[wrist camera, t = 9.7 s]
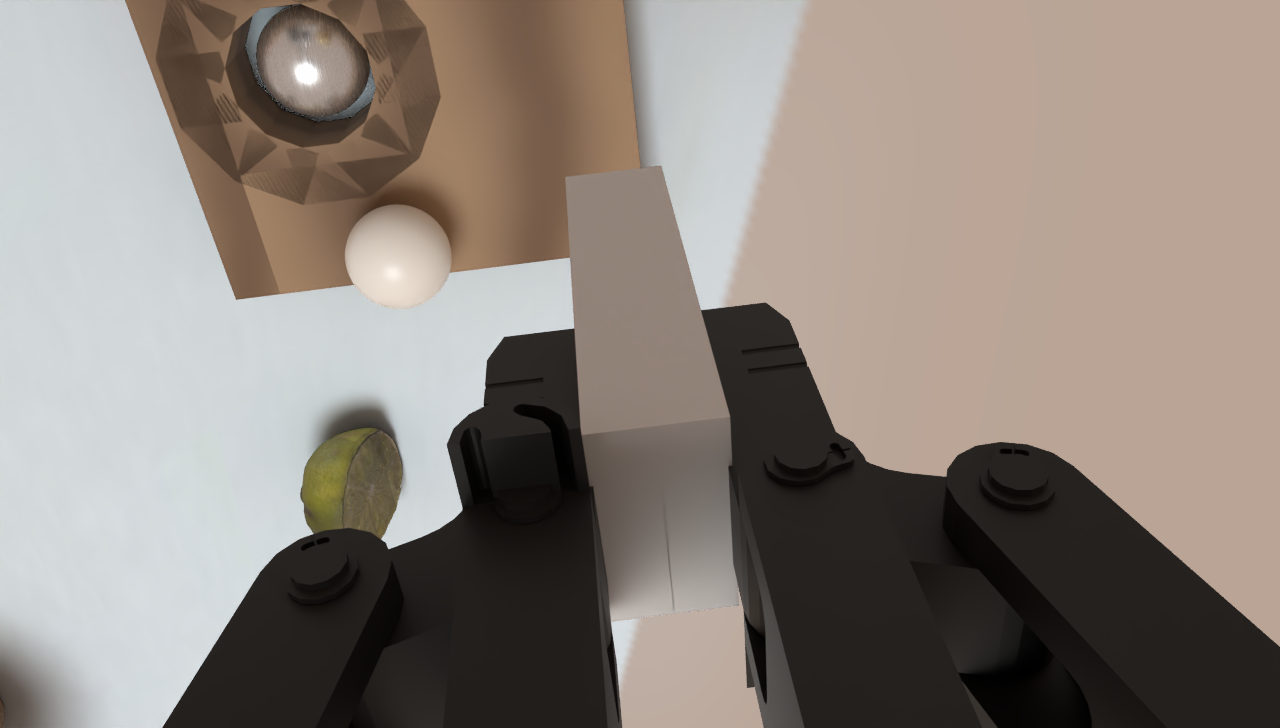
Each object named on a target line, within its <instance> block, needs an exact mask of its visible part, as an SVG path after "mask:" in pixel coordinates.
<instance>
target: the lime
mask: <svg viewBox="0 0 1280 728" xmlns="http://www.w3.org/2000/svg"><path fill="white" fill-rule="evenodd" d="M401 479H402V465H401V461H400V458H399V454H398V450H397V447H396V445H395V443H394V441H393V439H392V438H391V437H390V436H388V435H387V434H386V433H384V432H382V430H380V429H377V428H369V427H368V428H359V429H354V430H350V431H347V432H344V433H341V434H338V435H336V436H334V437H332V438H330V439H328V440H327V441H326V442H324V443H323V444H322V445H321V446H319V447H318V448H317V449H316V450H315V452H314V453H313V454H312V456H311V457H310V459H309V460H308V462H307V464H306V466H305V470H304V475H303V485H302V488H301V493H300V497H301V500H302V502H303V503H304V514H305V519H306V522H307V525H308V526H309V527H310V529H311V530H312V532H313V533H314V534H316V533H318V532H321V531H324V530H332V529H343V528H353V529H358V530H363V531H367V532H371V533H373V534H374V535H375V536H377V537H378V538H380V539H381V538H382V537H383V535H384V534H385V532H386V529H387V527H388V524H389V523H390V520H391V519H392V516H393V514H394V512H395V511H396V507H397V501H398V499H399V494H400V491H401V488H400V484H401Z"/></svg>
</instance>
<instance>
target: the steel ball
mask: <svg viewBox="0 0 1280 728" xmlns="http://www.w3.org/2000/svg"><path fill="white" fill-rule="evenodd" d="M256 58H257V66H258V70H259V73H260V76H261V79H262V81H263V83H264V84H265V86H266V88H267V89H268V91H269V92H270V93H271V94H272V95H273V96H274V98H275V99H276V100H278V101H279V102H280V103H281V104H282V105H284V106H286V107H287V108H289V109H291V110H293V111H295V112H297V113H300V114H303V115H308V116H317V117H318V116H328V115H333V114H336V113H339V112H341V111H343V110H345V109H347V108H348V107H350V106H351V105H352V104H353V103H354V102H355V101H356V100H357V99H358V98H359V97H360V96H361V94H362V92H363V91H364V89H365V87H366V84H367V81H368V78H369V73H370V62H369V58H368V54H367V51H366V50H365V48H364V47H363V46H362V45H361V44H360V43H359V42H358V40H357V39H356V38H355V37H354V36H353V35H352V34H351V33H350V31H349V30H348V29H347V28H346V27H345V26H344V25H343V23H342V22H341V21H340V20H339V19H336V18H334V17H332V16H329V15H327V14H324V13H322V12H319V11H317V10H314V9H312V8H309V7H307V6H305V5H302V4H298V5H294V6H290V7H288V8H286V9H283V10H281V11H280V12H278V13H277V14H276V15H274V16H273V17H272V18H271V19H270V20H269V21H268V22H267V24H266V25H265V27H264V28H263V30H262V32H261V34H260V37H259V40H258V44H257V52H256Z"/></svg>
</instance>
